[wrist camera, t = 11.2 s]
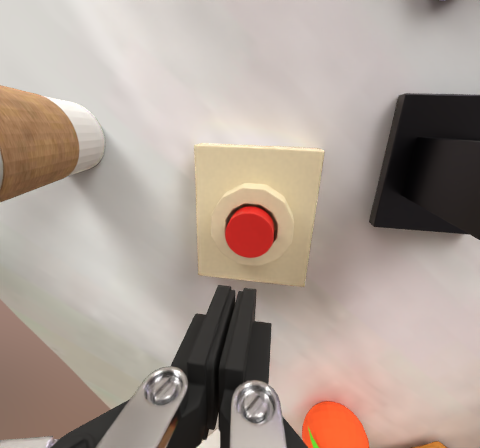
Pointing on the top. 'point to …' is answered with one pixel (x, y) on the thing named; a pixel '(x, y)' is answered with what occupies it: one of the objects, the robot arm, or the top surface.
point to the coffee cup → (44, 141)
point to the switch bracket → (431, 166)
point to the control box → (259, 195)
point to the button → (250, 232)
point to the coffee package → (431, 445)
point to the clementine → (333, 427)
